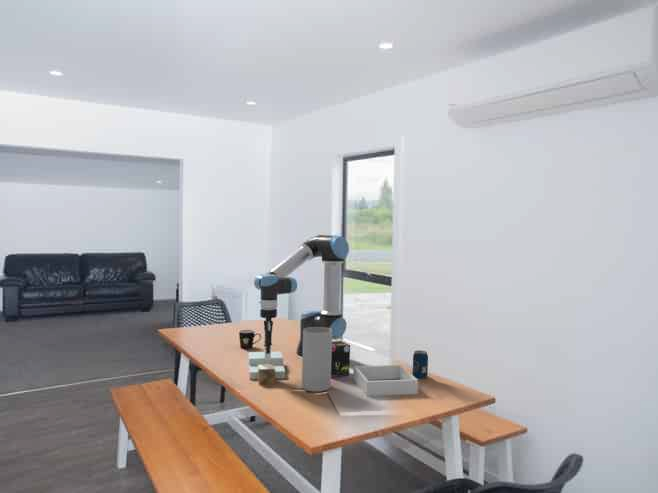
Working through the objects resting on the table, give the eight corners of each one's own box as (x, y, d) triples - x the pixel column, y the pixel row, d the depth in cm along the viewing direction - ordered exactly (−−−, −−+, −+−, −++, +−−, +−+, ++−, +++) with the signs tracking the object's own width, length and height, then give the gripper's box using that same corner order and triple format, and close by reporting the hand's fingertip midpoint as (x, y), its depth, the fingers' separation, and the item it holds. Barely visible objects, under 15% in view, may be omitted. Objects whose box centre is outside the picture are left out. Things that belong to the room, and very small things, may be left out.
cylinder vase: (320, 394, 199) (322, 334, 198) (295, 388, 206) (297, 330, 205) (336, 386, 210) (337, 329, 209) (312, 381, 216) (313, 325, 215)
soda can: (409, 375, 228) (410, 350, 228) (422, 374, 231) (423, 349, 230) (417, 380, 222) (418, 354, 221) (430, 378, 224) (431, 353, 224)
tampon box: (329, 378, 221) (330, 346, 220) (320, 372, 229) (321, 342, 229) (349, 375, 226) (350, 344, 225) (340, 370, 234) (341, 340, 234)
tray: (399, 377, 224) (400, 365, 224) (417, 394, 203) (418, 380, 202) (353, 379, 220) (353, 366, 220) (366, 396, 198) (366, 381, 198)
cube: (275, 368, 210) (274, 384, 211) (273, 364, 217) (273, 379, 217) (259, 369, 209) (258, 384, 209) (258, 364, 216) (258, 379, 216)
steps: (280, 364, 242) (280, 351, 241) (285, 378, 219) (285, 364, 219) (248, 364, 239) (248, 352, 238) (249, 379, 216) (249, 365, 216)
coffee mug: (235, 349, 267) (235, 331, 267) (243, 346, 275) (244, 329, 275) (253, 352, 263) (254, 334, 263) (261, 348, 271) (262, 331, 271)
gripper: (259, 306, 224) (258, 356, 225) (261, 311, 212) (259, 364, 213) (275, 306, 226) (274, 355, 227) (278, 310, 213) (276, 363, 214)
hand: (267, 359), depth 220 cm, fingers closed
